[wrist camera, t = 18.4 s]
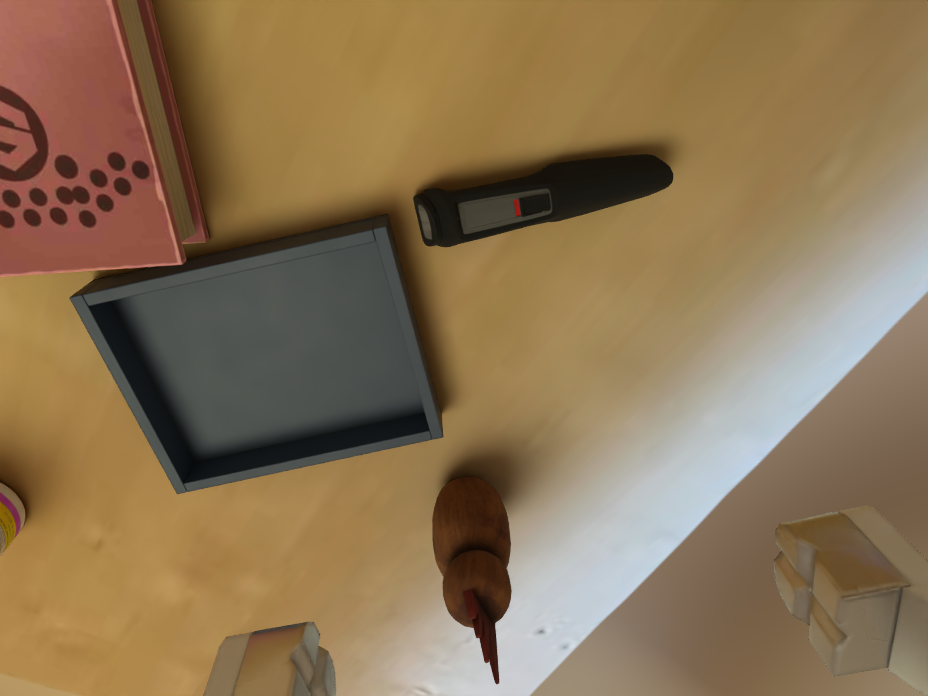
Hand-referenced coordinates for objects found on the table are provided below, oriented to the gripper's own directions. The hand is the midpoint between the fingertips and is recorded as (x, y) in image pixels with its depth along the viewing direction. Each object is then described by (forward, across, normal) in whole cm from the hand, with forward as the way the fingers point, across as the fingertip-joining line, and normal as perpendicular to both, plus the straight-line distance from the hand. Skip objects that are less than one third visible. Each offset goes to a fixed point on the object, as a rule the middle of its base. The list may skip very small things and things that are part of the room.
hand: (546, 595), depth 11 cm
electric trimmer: (+31, -5, +1) cm, 32 cm away
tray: (+31, +14, +8) cm, 35 cm away
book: (+31, +22, -9) cm, 39 cm away
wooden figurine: (+31, +4, +24) cm, 40 cm away
